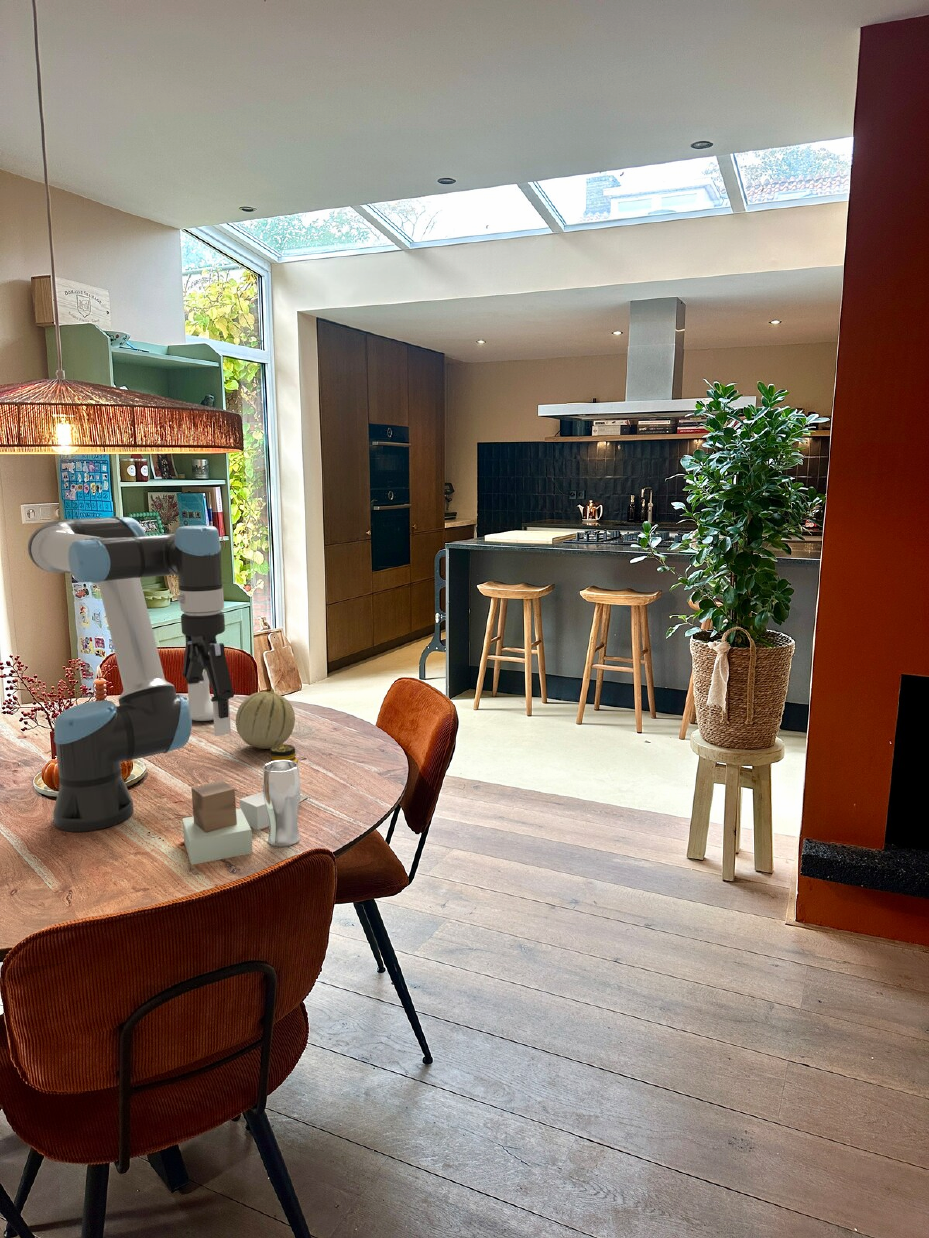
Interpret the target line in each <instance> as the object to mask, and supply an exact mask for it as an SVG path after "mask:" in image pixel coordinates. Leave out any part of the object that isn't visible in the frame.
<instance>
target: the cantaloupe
mask: <svg viewBox="0 0 929 1238" xmlns="http://www.w3.org/2000/svg"><path fill="white" fill-rule="evenodd" d="M235 716H236V717H235V726H236V727H235V728H236V731H237V733H238V735H239V737H240V738H241V739H242V741H243V742H244V743H246V744H247V745H249V746H252V747H254V748H256V749H258V750H259V749H261V750H263V749H266V750H271V748H273V747H274V746H278V745H284V743H285V742H286V741H287V740H289V738H290V736H291V735H292V734H293V730H294V729H295V728H294V727H295V723H296V718H295V717H296V716H295V712H294V708H293V706H292V704H291V702H289V700H288V699H287V698H286V697H284V696H283V695H280V694H278V693H276V692H275V690H274V688H270V691H269V692H267V691H259V692H255V693H254V692H253V693H252V694H249V695H248V697H246V698H245V699H244V700H243V701H242V702H241V704H240V705H239V707H238V709H237V710H236V714H235Z"/></svg>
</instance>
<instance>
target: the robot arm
mask: <svg viewBox="0 0 929 1238" xmlns="http://www.w3.org/2000/svg"><path fill="white" fill-rule="evenodd" d="M221 550H222V545H221V541H220V533H219V530H218V528H217V527H216V526H213V525H185V526H179V527H177V528H176V529H175V532H166V533H161V534H157V535H155V534H154V535H147V533H146V531H145V530H144V528H143V526H142V525H141V524H140V523H139V521H138V520H136V519H135V518H133V517H128V516H124V517H123V516H115V515H114V516H110V517H108V516H107V517H91V518H88V517H87V518H73V519H72V518H66V519H65V518H64V519H59V520H53V521H51V522H48V523H45V524H44V525H41V526H40V527H39V528H37V529H36V530H35V531H34V532H33V533H32V534H31V536H30V538H29V540H28V542H27V552H28V554H27V555H28V556H29V559H30V560H31V562H32V563H33V564H34V565H35V566H36V567H37V568H39V569H41V570H43V571H45V572H49V573H54V574H55V573H56V574H71V575H72V577H73V579H74V580H75V581H77V582H78V583H91V584H93V585H95V586H97V587H98V588H99V591H100V596H101V600H102V604H103V608H104V612H105V617H106V622H107V625H108V631H109V634H110V638H111V642H112V645H113V650H114V654H115V659H116V663H117V667H118V671H119V676H120V679H121V683H122V689H123V691H122V693H121V694H120V696H119V697H118V699H117V701H118V704H119V705H116V704H115V702H114V701H111V700H105V699H104V700H98V701H96V700H93V701H88V702H83V703H80V704H77V705H74V706H72V707H70V708H67V709H65V710H64V711H62V712H61V713H59V714H58V715H57V717H56V718H55V721H54V727H53V728H54V737H53V741H54V743H55V751H56V761H57V770H58V771H57V772H58V778H59V779H58V781H59V787H58V791H57V797H56V800H55V804H54V808H53V811H52V817H53V818H52V819H53V825H54V827H56V829H59V830H60V831H61V830H62V831H66V832H90V831H96V830H102V829H105V828H109V827H112V826H115V825H118V824H121V823H122V822H124V821H126V820H128V819H129V818H130V817H131V816H132V815H133V813H134V800H133V798H132V796H131V794H130V792H129V789H128V787H127V785H126V782H125V781H124V778H123V777H122V776H123V775H122V767H121V766H122V763H124V762H128V761H133V760H137V759H143V758H147V757H151V756H155V755H160V754H164V755H165V754H168V753H169V752H172V751H176V750H180V749H183V748H184V747H185V746H186V745H187V743H188V742H189V740H190V737H191V732H192V729H193V727H192V726H193V720H192V718H194V717H199V716H205V707H204V692H203V682H200V681H204V680H203V679H204V678H203V675H202V673H203V670H205V669H206V672H207V675H208V679H209V686H210V688H211V693H212V694H213V696H211V697H212V698H211V702H213V717H214V720H213V730H214V731H213V733H214V736H215V737H218V736H225V735H229V734H231V733H232V728H231V727H232V726H231V713H230V699H232V698H234V696H235V694H234V689H233V684H232V681H231V676H230V671H229V666H228V662H227V657H226V651H225V650H226V649H225V645H224V642H220V643H218V641H217V636H218V635H221V634H223V633H224V632H225V631H226V626H225V625H226V623H225V613H224V612H223V611H222V610H223V609H224V608H225V602H224V601H225V600H224V598H225V597H224V587H223V577H222V560H221V559H222V556H221V554H222V553H221ZM174 575H175V576H177V580H178V591H179V595H177V596H176V600H177V601H178V602H179V606H180V607H179V608H180V611H181V613H182V614H181V615H180V625H181V633H182V635H184V636H185V637H184V638H185V648H184V649H185V650H184V658H183V667H182V668H183V670H182V677H183V678H185V681H186V683H187V696H188V697H186V695H185V694H181V693H178V694H177V692H176V688H175V685H174V684H172V683H171V682H169V681H167V680H166V678H165V675H164V669H163V667H162V661H161V657H160V653H159V651H158V647H157V646H158V645H157V643H156V638H155V634H154V631H153V627H152V622H151V619H150V615H149V610H148V606H147V602H146V599H145V595H144V589H143V586H142V582H141V578H153V577H164V576H165V577H166V576H174Z"/></svg>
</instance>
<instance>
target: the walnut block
mask: <svg viewBox="0 0 929 1238" xmlns="http://www.w3.org/2000/svg"><path fill="white" fill-rule="evenodd" d="M191 800H192V801H191V802H192V803H191V804H192V815H193V816H192V817H194V823H195V824H196V825H197V826H198V827H200V828H201V829H202V830H203V831H204V832H205V833H207V832H211V831H214V830H218V829H222V828H225V827H229V826H232V825H236V824H237V818H236V809H237V808H236V806H237V803H236V790H235V788H234V787H232V786H231V785H230V784H228V783H227V782H225V780H223V779H221V780H216V781H214V782H213V781H212V782H209V783H204V784H200V785H196V786H192V787H191Z"/></svg>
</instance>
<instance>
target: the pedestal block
mask: <svg viewBox="0 0 929 1238" xmlns="http://www.w3.org/2000/svg"><path fill="white" fill-rule="evenodd" d="M236 818H237V824H236V825H232V826H229V827H225V828H222V829H218V830H214V831H211V832H207V833H205V832H204V831H203V830H202V829H201V828H200V827H198V826H197V825H196V824H195V823H194V817H193V816H188V817H183V818H182V831H183V843H184V845H185V849H186V852H187V855H188V858H189V862H190V865H191V866H193V865H198V864H204V863H207V862H213V861H214V862H215V861H218V860H223V859H224V860H225V859H229V858H235V857H239V856H243V855H249V854H253V853H254V850H253V836H252V835H253V833H252V827H250V826H249V824H248V822H247V820H246V818H245V816H244V814H243V812H242V810H241V808H240V807H239V808H236Z"/></svg>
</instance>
